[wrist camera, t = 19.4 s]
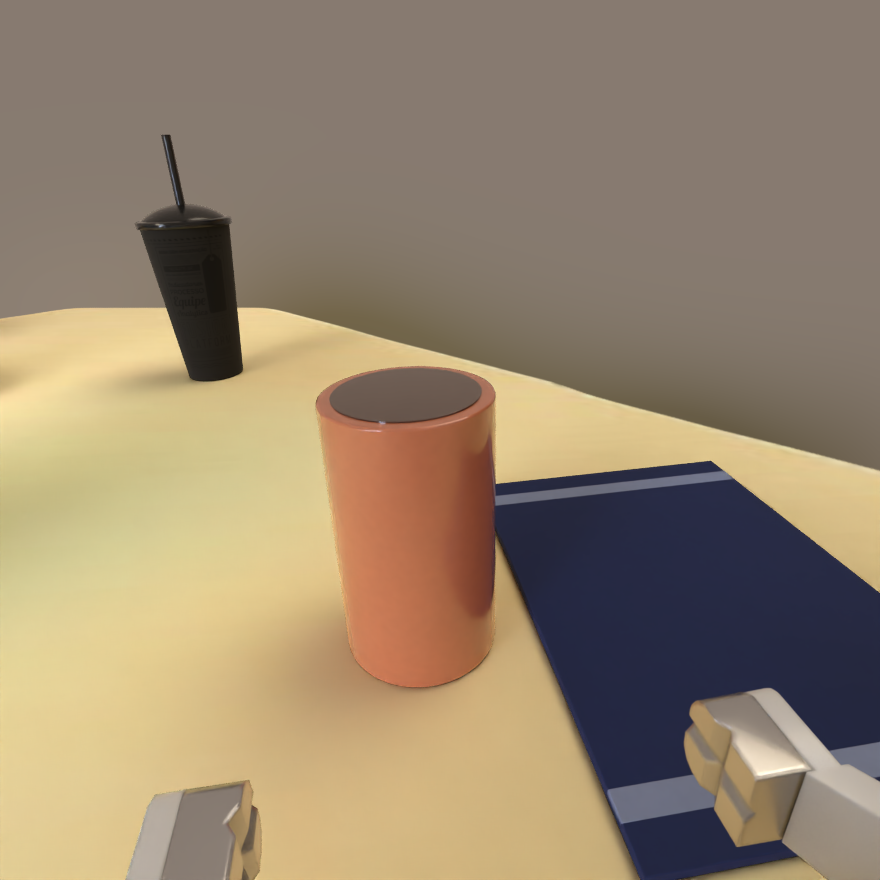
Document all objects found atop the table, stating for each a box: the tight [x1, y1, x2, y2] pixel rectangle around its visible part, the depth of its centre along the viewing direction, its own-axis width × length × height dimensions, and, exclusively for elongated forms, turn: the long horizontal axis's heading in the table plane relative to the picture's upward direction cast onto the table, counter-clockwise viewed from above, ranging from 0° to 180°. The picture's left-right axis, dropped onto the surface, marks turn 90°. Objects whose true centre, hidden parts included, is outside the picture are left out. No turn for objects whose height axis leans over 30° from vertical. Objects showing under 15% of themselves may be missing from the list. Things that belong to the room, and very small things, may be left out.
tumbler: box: [316, 366, 496, 688], centre depth 21 cm, size 6×6×10 cm
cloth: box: [495, 461, 880, 880], centre depth 24 cm, size 20×14×1 cm
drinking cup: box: [135, 135, 243, 381], centre depth 50 cm, size 8×8×20 cm
